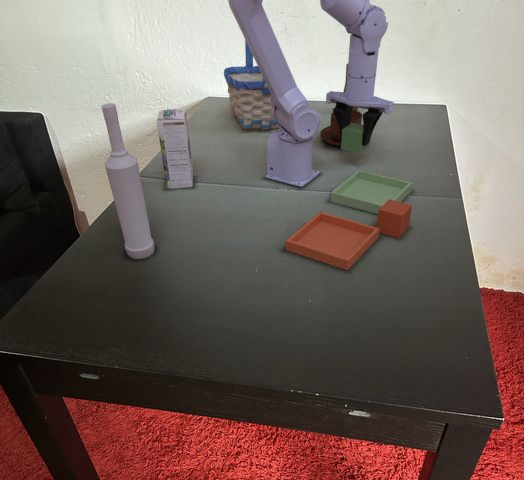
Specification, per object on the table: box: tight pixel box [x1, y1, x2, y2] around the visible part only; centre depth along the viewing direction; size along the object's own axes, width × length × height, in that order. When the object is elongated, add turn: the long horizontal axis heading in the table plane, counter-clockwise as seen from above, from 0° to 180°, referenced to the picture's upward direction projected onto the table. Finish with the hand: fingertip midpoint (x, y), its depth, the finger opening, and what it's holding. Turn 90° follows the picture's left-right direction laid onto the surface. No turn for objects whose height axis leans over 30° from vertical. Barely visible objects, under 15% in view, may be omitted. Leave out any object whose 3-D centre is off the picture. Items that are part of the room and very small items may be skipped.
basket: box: [223, 39, 279, 131], centre depth 132 cm, size 21×16×24 cm
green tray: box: [329, 169, 413, 215], centre depth 106 cm, size 12×12×2 cm
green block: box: [340, 123, 370, 155], centre depth 114 cm, size 4×4×4 cm
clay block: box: [375, 199, 413, 239], centre depth 95 cm, size 4×4×4 cm
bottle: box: [101, 102, 156, 260], centre depth 86 cm, size 5×5×25 cm
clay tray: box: [285, 211, 380, 271], centre depth 93 cm, size 12×12×2 cm
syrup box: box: [156, 108, 194, 190], centre depth 109 cm, size 6×6×14 cm
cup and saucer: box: [319, 110, 363, 147], centre depth 126 cm, size 12×12×6 cm
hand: (355, 142), depth 115 cm, fingers closed on green block, 4 cm apart
